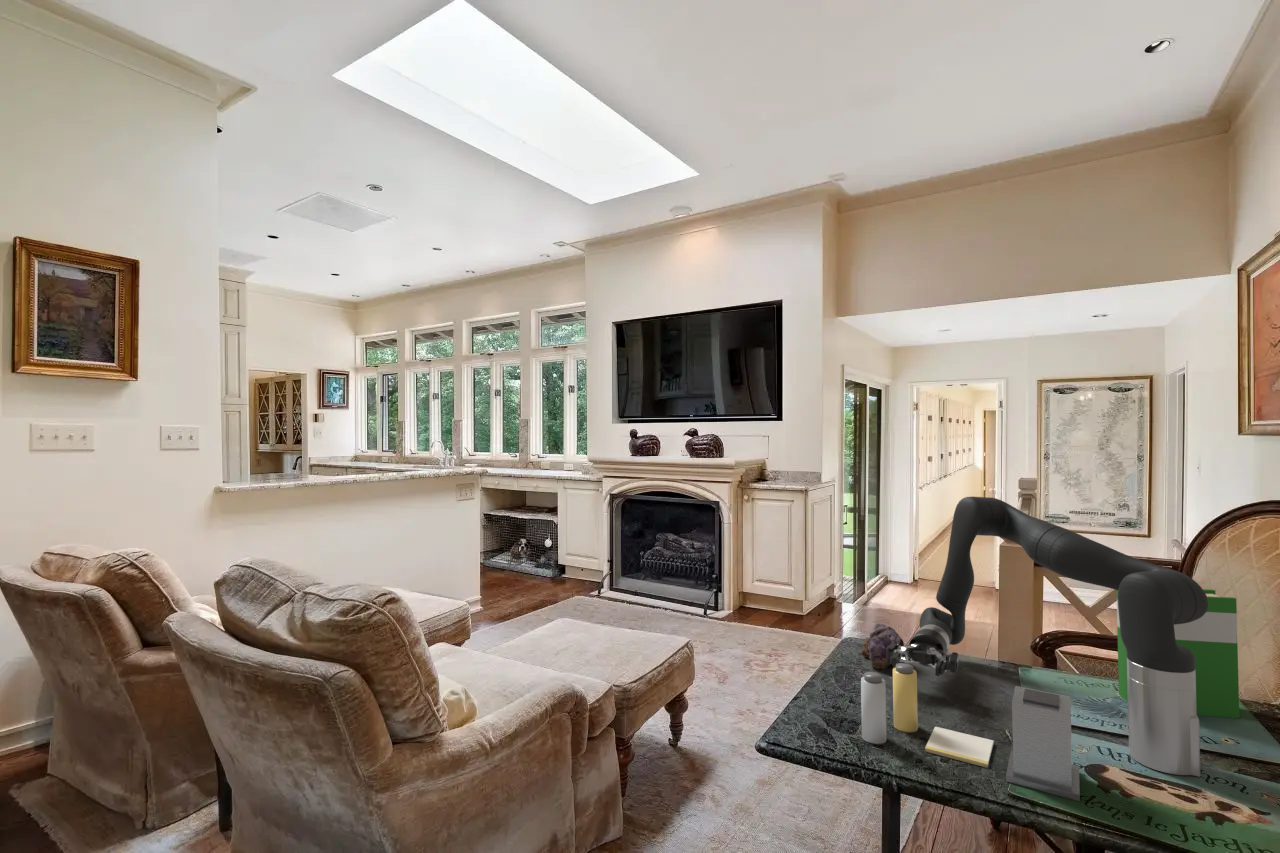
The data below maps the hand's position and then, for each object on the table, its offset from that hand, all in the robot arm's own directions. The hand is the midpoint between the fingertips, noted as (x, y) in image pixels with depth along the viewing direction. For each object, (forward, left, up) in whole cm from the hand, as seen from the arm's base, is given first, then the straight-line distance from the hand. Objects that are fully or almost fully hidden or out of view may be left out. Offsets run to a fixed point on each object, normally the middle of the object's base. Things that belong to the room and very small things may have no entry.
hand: (915, 667), depth 131 cm
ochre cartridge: (0, +11, -8) cm, 14 cm away
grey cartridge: (+4, +19, -8) cm, 21 cm away
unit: (-23, +17, -8) cm, 30 cm away
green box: (-45, -30, -8) cm, 55 cm away
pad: (-10, +14, -8) cm, 19 cm away
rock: (+12, -22, -8) cm, 26 cm away
